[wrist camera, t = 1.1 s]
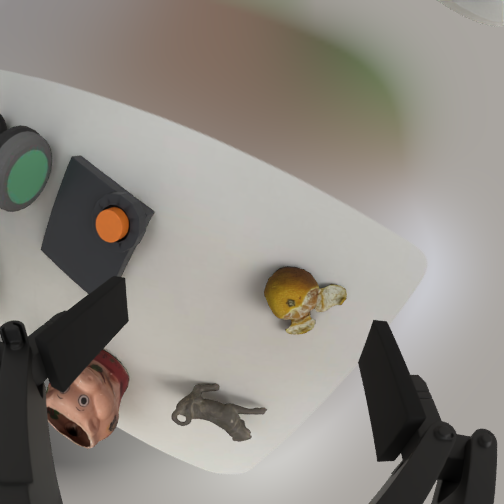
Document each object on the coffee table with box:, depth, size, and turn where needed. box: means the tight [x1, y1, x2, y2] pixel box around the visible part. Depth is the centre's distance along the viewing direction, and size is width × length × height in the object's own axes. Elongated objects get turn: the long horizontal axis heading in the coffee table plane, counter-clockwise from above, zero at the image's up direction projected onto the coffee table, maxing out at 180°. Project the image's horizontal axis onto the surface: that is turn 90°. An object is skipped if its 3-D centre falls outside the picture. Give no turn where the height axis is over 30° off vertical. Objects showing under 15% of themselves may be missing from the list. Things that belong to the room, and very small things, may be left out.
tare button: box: [96, 207, 129, 243], centre depth 30 cm, size 4×4×2 cm
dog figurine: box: [172, 384, 267, 441], centre depth 37 cm, size 12×6×7 cm, turn 70°
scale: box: [41, 156, 154, 294], centre depth 33 cm, size 16×14×4 cm
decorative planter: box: [46, 350, 129, 448], centre depth 37 cm, size 20×12×14 cm, turn 157°
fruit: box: [264, 267, 347, 334], centre depth 32 cm, size 8×8×4 cm
